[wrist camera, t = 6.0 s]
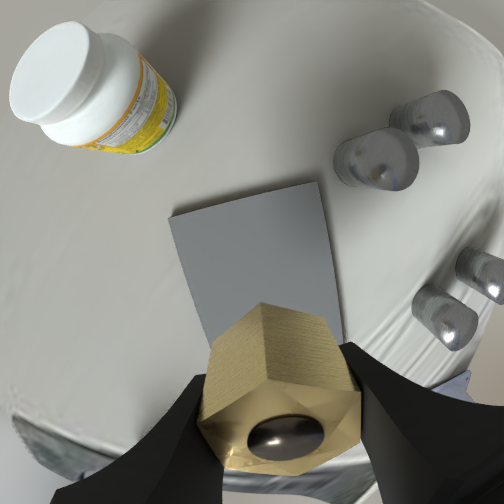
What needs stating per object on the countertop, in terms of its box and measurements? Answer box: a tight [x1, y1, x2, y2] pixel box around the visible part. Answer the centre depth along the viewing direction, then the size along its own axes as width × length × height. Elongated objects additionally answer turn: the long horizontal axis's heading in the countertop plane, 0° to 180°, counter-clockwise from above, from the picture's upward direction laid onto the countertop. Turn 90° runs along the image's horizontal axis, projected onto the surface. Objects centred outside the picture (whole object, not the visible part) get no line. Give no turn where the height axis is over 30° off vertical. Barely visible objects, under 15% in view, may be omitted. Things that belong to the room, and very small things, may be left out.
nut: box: [197, 302, 361, 476], centre depth 9 cm, size 5×4×4 cm
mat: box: [168, 181, 343, 349], centre depth 18 cm, size 12×9×1 cm
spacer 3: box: [412, 284, 478, 351], centre depth 16 cm, size 3×3×5 cm
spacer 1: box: [333, 127, 419, 191], centre depth 14 cm, size 3×3×5 cm
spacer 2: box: [389, 90, 470, 148], centre depth 13 cm, size 3×3×5 cm
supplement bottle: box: [9, 21, 177, 155], centre depth 10 cm, size 5×5×10 cm
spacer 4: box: [455, 247, 504, 305], centre depth 15 cm, size 3×3×5 cm
